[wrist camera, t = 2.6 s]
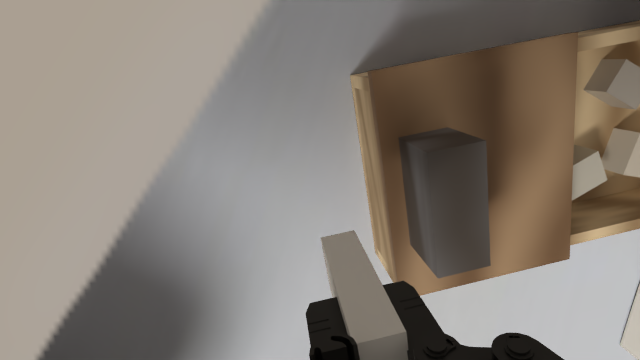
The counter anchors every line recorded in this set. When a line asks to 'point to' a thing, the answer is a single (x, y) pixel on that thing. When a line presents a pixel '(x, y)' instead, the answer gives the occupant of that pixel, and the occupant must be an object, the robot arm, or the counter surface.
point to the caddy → (590, 132)
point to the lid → (477, 160)
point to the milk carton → (633, 329)
